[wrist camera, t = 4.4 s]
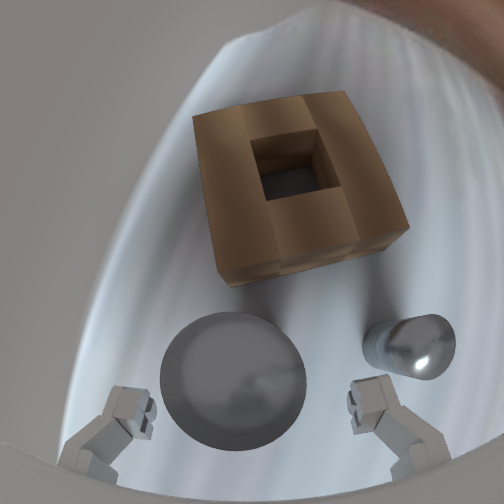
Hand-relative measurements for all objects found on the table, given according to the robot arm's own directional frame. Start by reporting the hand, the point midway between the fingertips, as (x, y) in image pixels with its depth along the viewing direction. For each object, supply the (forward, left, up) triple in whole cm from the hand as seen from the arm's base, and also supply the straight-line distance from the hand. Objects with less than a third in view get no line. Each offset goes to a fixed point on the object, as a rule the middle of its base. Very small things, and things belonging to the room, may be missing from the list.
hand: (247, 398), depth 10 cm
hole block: (-5, -12, -9) cm, 16 cm away
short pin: (-9, +1, -9) cm, 13 cm away
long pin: (0, -1, -9) cm, 9 cm away
